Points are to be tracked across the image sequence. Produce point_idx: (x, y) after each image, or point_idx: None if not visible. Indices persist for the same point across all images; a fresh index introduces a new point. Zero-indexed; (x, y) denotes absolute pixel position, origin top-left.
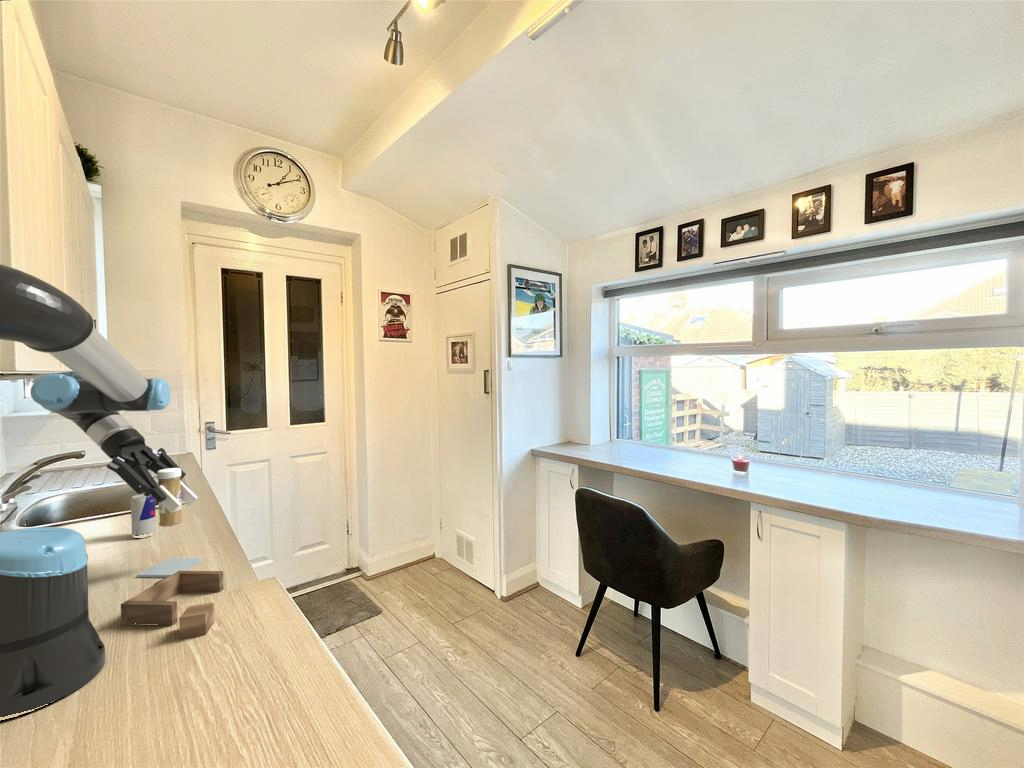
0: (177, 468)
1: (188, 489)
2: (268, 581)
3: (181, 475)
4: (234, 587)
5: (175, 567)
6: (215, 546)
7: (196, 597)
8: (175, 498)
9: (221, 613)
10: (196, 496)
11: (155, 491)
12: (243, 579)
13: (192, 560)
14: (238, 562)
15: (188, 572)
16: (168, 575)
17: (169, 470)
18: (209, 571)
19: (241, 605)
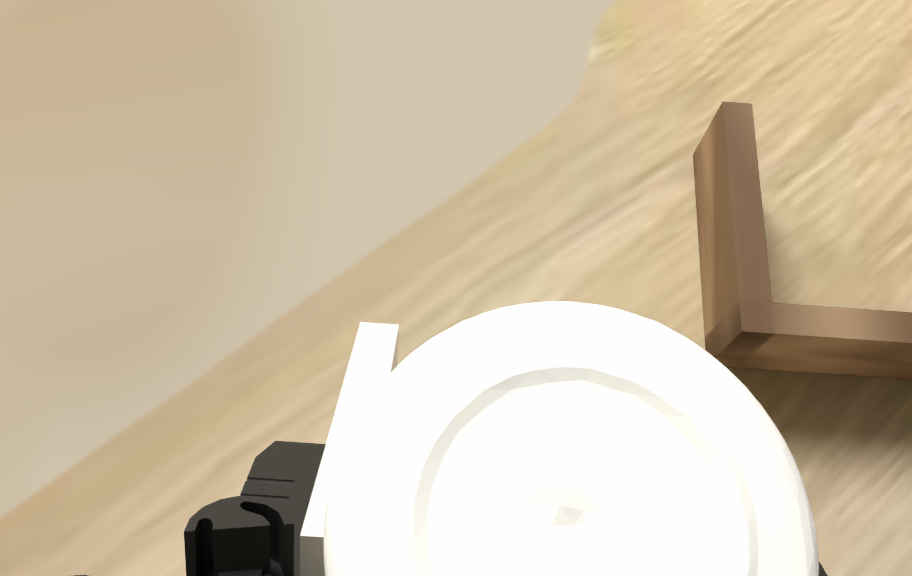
0: (455, 395)
1: (360, 399)
2: (611, 12)
3: (239, 525)
4: (673, 119)
5: None
6: (101, 564)
7: (776, 226)
8: None
9: (873, 56)
10: (364, 331)
11: (825, 573)
12: (596, 121)
13: None
14: (397, 250)
15: (756, 264)
16: None
17: (692, 420)
18: (732, 164)
19: (809, 18)
